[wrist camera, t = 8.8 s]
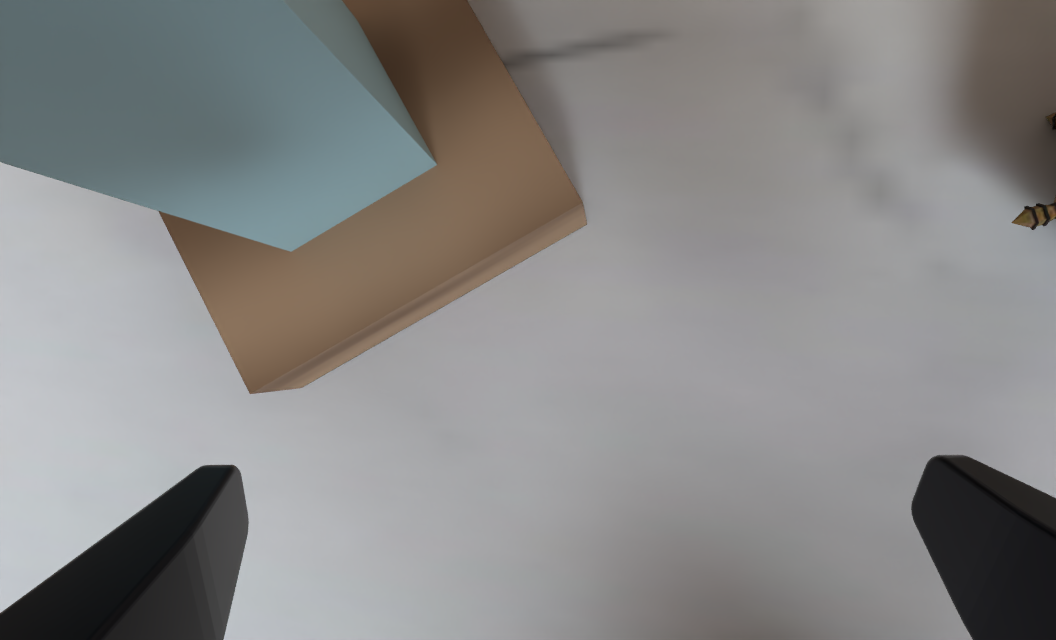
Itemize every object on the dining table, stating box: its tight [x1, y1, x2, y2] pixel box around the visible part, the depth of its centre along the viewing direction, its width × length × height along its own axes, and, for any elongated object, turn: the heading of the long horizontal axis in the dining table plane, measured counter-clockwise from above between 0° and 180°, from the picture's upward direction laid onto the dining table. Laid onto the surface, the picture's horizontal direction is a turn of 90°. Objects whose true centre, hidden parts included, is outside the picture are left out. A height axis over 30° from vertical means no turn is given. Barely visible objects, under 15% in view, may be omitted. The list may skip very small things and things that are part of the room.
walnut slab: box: [159, 0, 587, 394], centre depth 20 cm, size 10×10×3 cm
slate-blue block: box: [0, 0, 437, 252], centre depth 12 cm, size 4×4×13 cm
